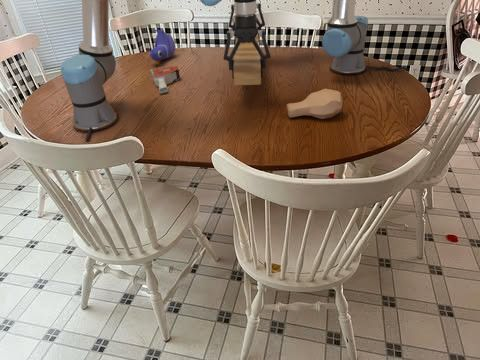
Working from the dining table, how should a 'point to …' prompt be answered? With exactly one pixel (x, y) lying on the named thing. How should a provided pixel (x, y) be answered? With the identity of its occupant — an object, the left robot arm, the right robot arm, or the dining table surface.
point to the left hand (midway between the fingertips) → (247, 77)
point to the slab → (247, 64)
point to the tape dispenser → (164, 77)
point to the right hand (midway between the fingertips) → (247, 42)
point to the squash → (317, 105)
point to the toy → (162, 46)
